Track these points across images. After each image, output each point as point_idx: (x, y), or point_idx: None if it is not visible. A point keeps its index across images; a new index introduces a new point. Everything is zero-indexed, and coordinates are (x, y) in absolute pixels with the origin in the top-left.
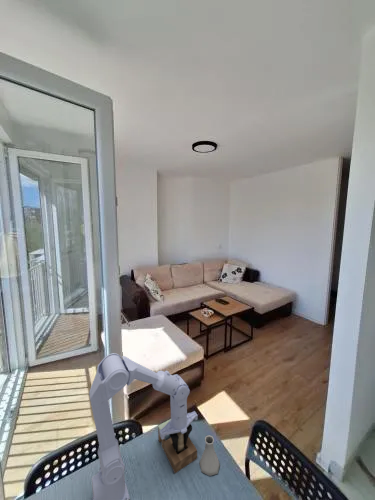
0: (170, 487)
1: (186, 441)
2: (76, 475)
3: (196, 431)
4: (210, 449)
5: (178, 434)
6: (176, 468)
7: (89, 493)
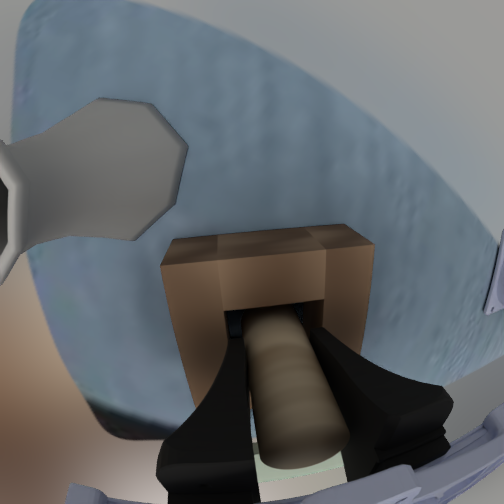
0: (391, 174)
1: (230, 353)
2: None
3: (121, 370)
4: (34, 144)
5: (332, 431)
6: (345, 232)
7: None
